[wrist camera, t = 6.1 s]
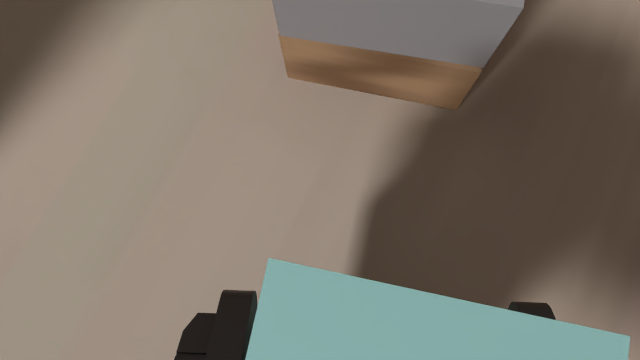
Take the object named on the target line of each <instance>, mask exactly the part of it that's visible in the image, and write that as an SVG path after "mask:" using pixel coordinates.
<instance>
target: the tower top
mask: <svg viewBox="0 0 640 360" xmlns="http://www.w3.org/2000/svg"><path fill="white" fill-rule="evenodd" d="M272 1H273V6H274V11H275V15H276V20H277V24H278V29H279V34H280V36H286V37H292V38H298V39H305V40H311V41H317V42H323V43H330V44H336V45H342V46H348V47H355V48H361V49H367V50H374V51H380V52H386V53H392V54H399V55H405V56H411V57H418V58H424V59H430V60H437V61H443V62H449V63H455V64H462V65H468V66H474V67H481V68H484V66H485V65H486V63H487V62H488V60H489V59H490V57H491V56H492V54H493V53H494V51H495V50H496V48H497V47H498V45H499V44H500V42H501V41H502V39H503V38H504V36H505V35H506V33H507V32H508V31H509V29H510V28H511V26H512V25H513V23H514V22H515V20H516V19H517V17H518V16H519V14H520V13H521V11H522V10H523V8H524V1H525V0H272Z"/></svg>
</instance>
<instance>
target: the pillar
mask: <svg viewBox="0 0 640 360" xmlns="http://www.w3.org/2000/svg"><path fill="white" fill-rule="evenodd" d="M629 344H630V336H627V335H622V334H618V333H613V332H608V331H604V330H599V329H594V328H590V327H585V326H581V325H576V324H571V323H567V322H562V321H558V320H553V319H548V318H544V317H539V316H534V315H530V314H525V313H521V312H516V311H511V310H507V309H502V308H498V307H493V306H488V305H484V304H479V303H474V302H470V301H465V300H461V299H456V298H451V297H447V296H442V295H438V294H433V293H428V292H424V291H419V290H415V289H410V288H405V287H401V286H396V285H391V284H387V283H382V282H378V281H373V280H368V279H364V278H359V277H355V276H350V275H345V274H341V273H336V272H331V271H327V270H322V269H318V268H313V267H308V266H304V265H299V264H295V263H290V262H285V261H281V260H276V259H271V258H269V259H268V263H267V267H266V272H265V276H264V281H263V285H262V289H261V294H260V298H259V302H258V307H257V311H256V315H255V320H254V324H253V328H252V333H251V337H250V341H249V346H248V350H247V354H246V359H245V360H628V354H629Z"/></svg>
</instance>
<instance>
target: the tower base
mask: <svg viewBox="0 0 640 360" xmlns="http://www.w3.org/2000/svg"><path fill="white" fill-rule="evenodd" d="M279 40H280V44H281V48H282V53H283V57H284V62H285V66H286V71H287V75H288V78H293V79H299V80H304V81H309V82H314V83H319V84H324V85H329V86H335V87H340V88H345V89H350V90H355V91H360V92H366V93H371V94H376V95H381V96H386V97H391V98H396V99H402V100H407V101H412V102H417V103H422V104H427V105H432V106H438V107H443V108H448V109H453V110H457V108H458V107H459V105H460V104H461V102H462V101H463V99H464V98H465V96H466V95H467V93H468V92H469V90H470V89H471V87H472V86H473V84H474V83H475V81H476V80H477V78H478V77H479V75H480V74H481V70H482V68H481V67H474V66H468V65H462V64H455V63H449V62H443V61H437V60H430V59H424V58H418V57H411V56H405V55H399V54H392V53H386V52H380V51H374V50H367V49H361V48H355V47H348V46H342V45H336V44H330V43H323V42H317V41H311V40H305V39H298V38H292V37H286V36H280V34H279Z"/></svg>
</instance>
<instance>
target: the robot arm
mask: <svg viewBox="0 0 640 360" xmlns="http://www.w3.org/2000/svg"><path fill="white" fill-rule="evenodd" d="M508 310H511V311H516V312H521V313H525V314H530V315H534V316H539V317H544V318H548V319H553V320H556V319H555V316H554V314H553V312H552V309H551V308H550V306H549V305H548V304H547V303H532V302H511V303H510V305H509V307H508ZM256 311H257V295H256V291H239V290H223V292H222V294H221V297H220V301H219V305H218V309H217V313H216V314H215V313H197V315H196V316H195V317H194V318H193V319H192V321H191V322H190V323H189V324H188V326H187V327H186V328H185V329H184V330H183V333H182V336H181V339H180V342H179V346H178V349H177V354H176V356H175V359H174V360H245V359H246V354H247V350H248V346H249V341H250V337H251V333H252V328H253V324H254V320H255V315H256Z"/></svg>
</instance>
